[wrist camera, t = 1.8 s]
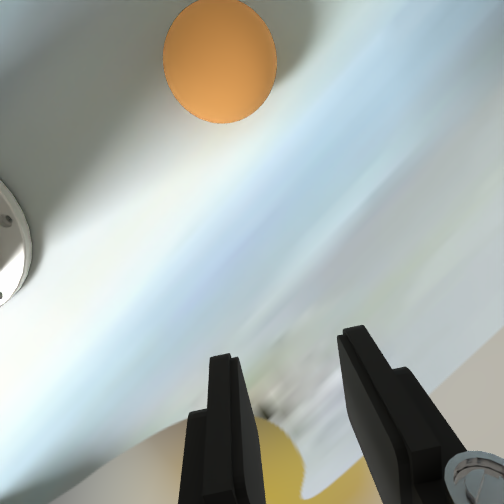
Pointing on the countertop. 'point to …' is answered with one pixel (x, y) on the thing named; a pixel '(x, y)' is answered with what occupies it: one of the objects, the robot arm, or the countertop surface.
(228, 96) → the ball
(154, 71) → the countertop surface
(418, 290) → the countertop surface
